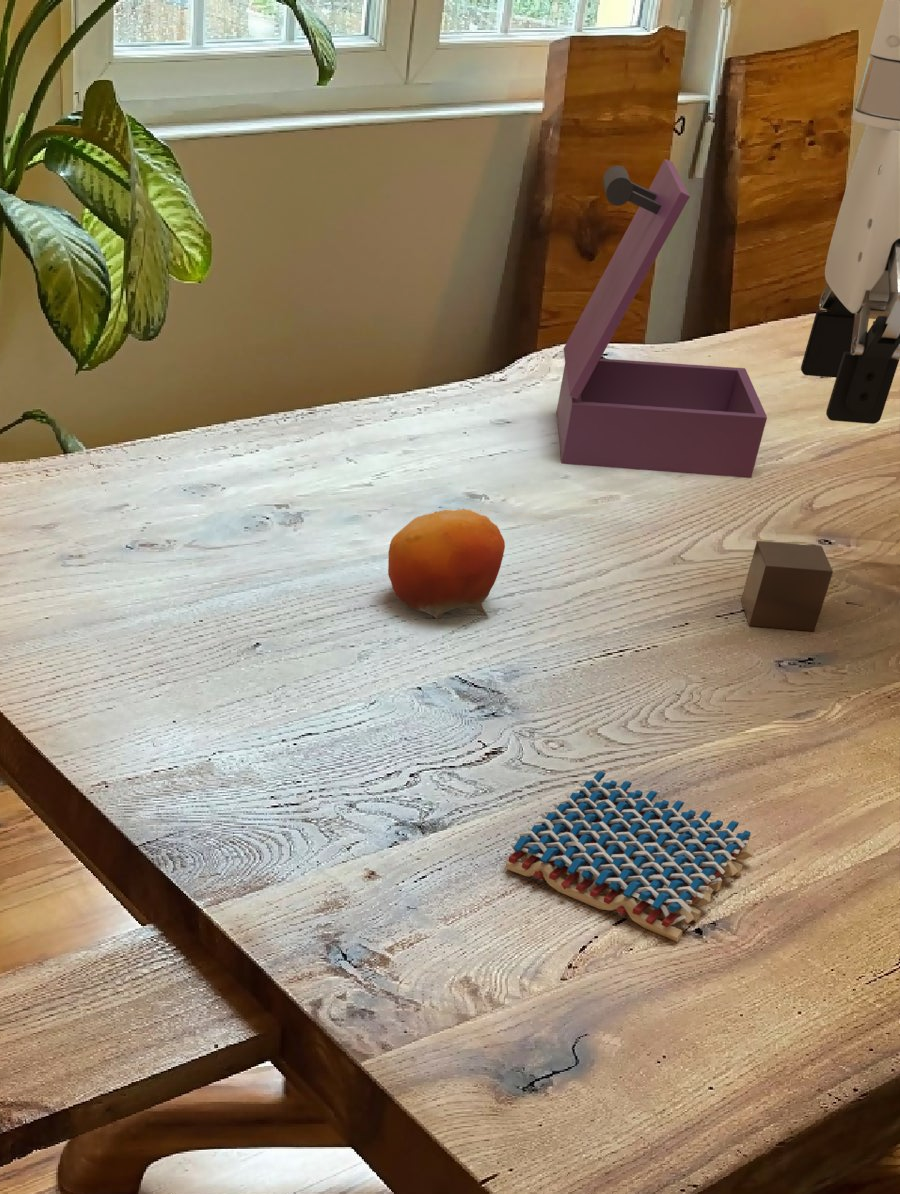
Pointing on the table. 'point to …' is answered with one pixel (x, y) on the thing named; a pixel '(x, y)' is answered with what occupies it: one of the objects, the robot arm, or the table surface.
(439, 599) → the fruit
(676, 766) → the table surface
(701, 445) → the box
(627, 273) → the lid
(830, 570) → the block
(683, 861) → the woven mat
